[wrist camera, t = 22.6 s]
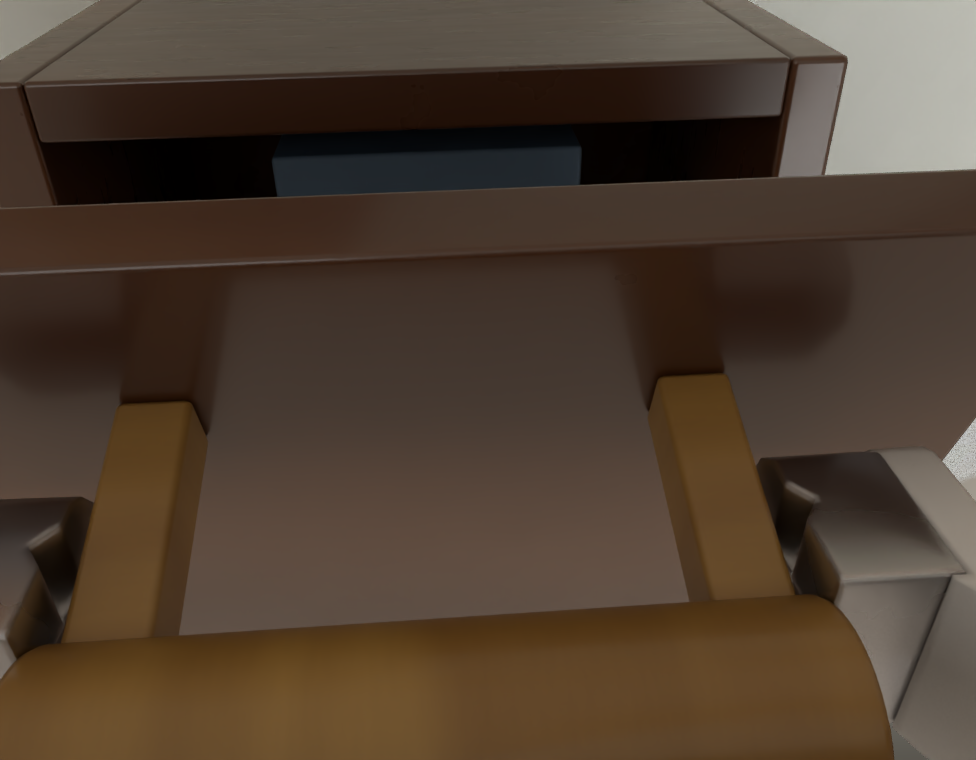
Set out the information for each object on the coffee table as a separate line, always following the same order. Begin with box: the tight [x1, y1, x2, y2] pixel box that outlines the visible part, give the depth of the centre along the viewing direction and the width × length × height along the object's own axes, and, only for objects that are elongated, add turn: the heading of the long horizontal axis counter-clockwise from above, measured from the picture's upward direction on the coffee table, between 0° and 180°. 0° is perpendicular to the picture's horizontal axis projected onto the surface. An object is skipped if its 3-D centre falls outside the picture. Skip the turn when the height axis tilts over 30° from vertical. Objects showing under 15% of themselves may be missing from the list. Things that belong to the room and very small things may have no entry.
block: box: [272, 124, 582, 197], centre depth 17 cm, size 5×5×5 cm
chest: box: [0, 0, 848, 208], centre depth 18 cm, size 14×12×8 cm
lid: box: [0, 169, 976, 760], centre depth 11 cm, size 14×12×5 cm
